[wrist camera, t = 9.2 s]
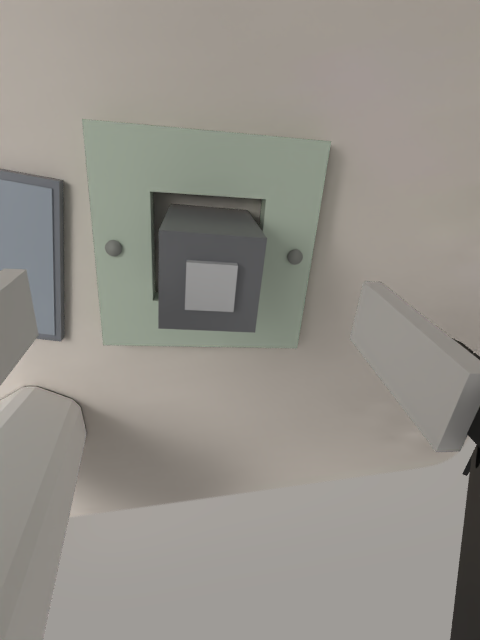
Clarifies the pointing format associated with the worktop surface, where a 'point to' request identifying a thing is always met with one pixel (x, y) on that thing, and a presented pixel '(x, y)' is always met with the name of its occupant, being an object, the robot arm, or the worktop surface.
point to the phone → (35, 243)
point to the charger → (209, 269)
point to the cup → (34, 502)
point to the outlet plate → (199, 179)
